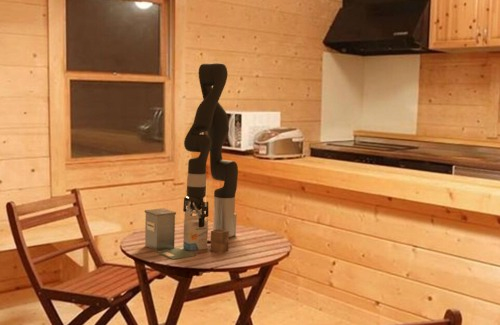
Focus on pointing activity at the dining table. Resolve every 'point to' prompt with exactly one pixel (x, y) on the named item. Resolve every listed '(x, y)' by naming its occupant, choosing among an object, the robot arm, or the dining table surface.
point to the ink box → (194, 232)
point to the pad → (175, 253)
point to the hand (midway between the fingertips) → (195, 225)
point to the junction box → (160, 229)
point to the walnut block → (219, 241)
